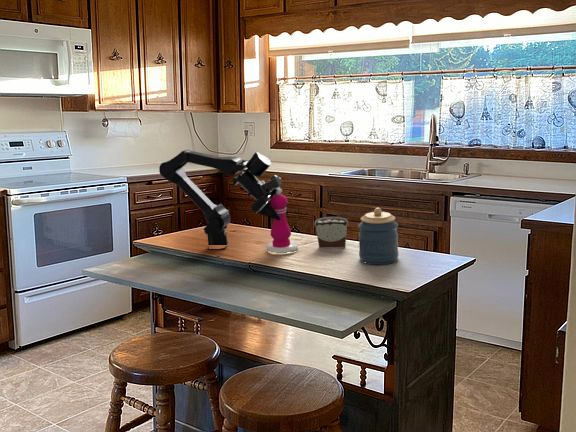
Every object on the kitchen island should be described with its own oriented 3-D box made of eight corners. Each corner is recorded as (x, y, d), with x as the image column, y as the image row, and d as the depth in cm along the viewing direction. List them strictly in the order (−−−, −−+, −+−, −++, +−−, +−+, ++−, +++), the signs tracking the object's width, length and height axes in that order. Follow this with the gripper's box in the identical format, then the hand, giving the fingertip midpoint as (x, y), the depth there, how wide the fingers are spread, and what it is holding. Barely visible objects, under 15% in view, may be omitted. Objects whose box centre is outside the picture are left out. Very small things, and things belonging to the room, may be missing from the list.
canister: (375, 251, 223) (374, 201, 218) (406, 258, 214) (405, 206, 209) (351, 260, 214) (349, 209, 210) (382, 268, 205) (381, 214, 201)
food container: (349, 242, 235) (348, 215, 232) (349, 247, 229) (348, 220, 226) (315, 243, 236) (314, 216, 233) (314, 248, 230) (313, 221, 227)
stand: (266, 255, 224) (266, 250, 224) (267, 246, 235) (267, 241, 234) (298, 254, 224) (298, 248, 224) (297, 245, 235) (297, 239, 234)
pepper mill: (268, 244, 231) (264, 189, 226) (287, 241, 233) (284, 187, 229) (275, 249, 224) (272, 193, 219) (294, 246, 227) (291, 190, 222)
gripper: (257, 174, 215) (291, 207, 214) (275, 164, 232) (306, 195, 231) (237, 197, 219) (270, 229, 219) (256, 185, 236) (286, 215, 236)
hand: (284, 216), depth 226 cm, fingers open, 9 cm apart
